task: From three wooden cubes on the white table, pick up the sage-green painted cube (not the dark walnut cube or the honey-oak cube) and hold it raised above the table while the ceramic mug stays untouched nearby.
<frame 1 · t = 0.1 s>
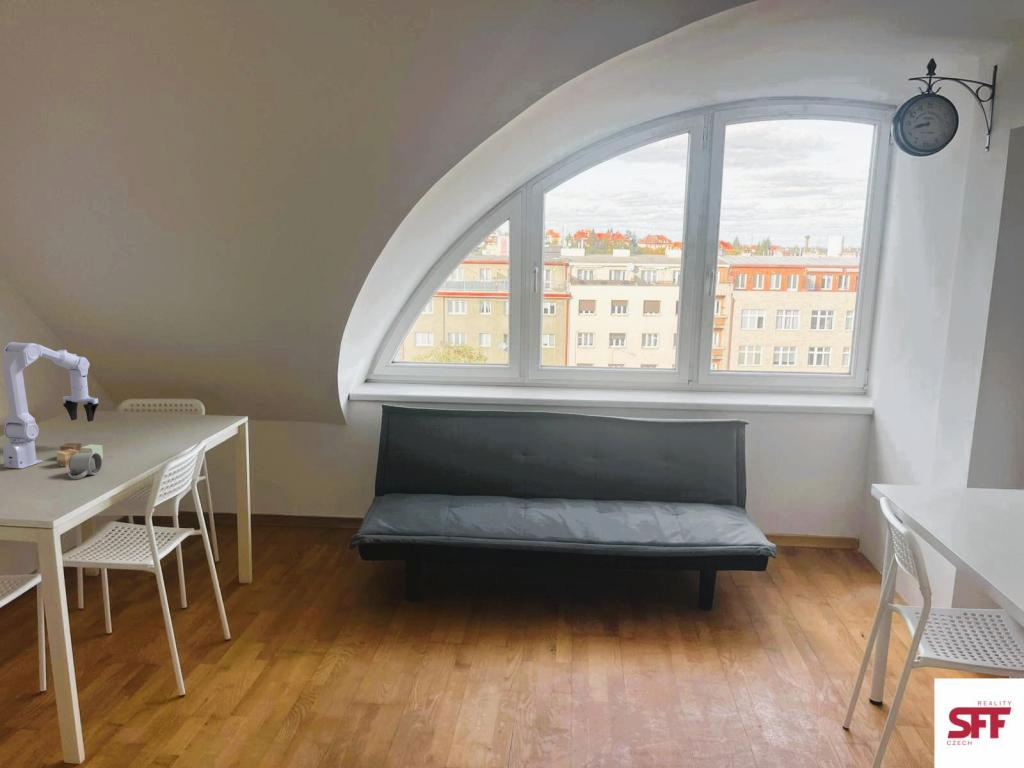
hand: (82, 420, 295), 10 cm above the table, tool pointing down, fingers open, 7 cm apart
ceramic mug: (84, 475, 259), on the table
oak block: (68, 464, 271), on the table
walnut block: (72, 457, 280), on the table
sage block: (92, 459, 278), on the table
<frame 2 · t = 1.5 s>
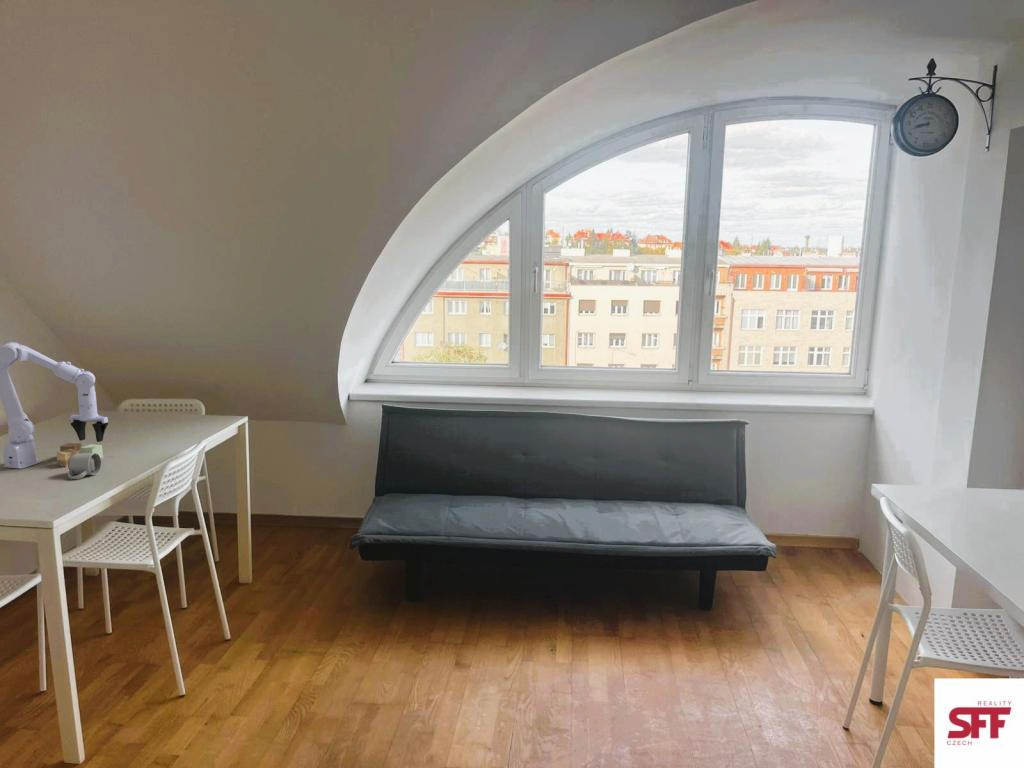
hand: (91, 440, 277), 7 cm above the table, tool pointing down, fingers open, 7 cm apart
nothing on the table moved.
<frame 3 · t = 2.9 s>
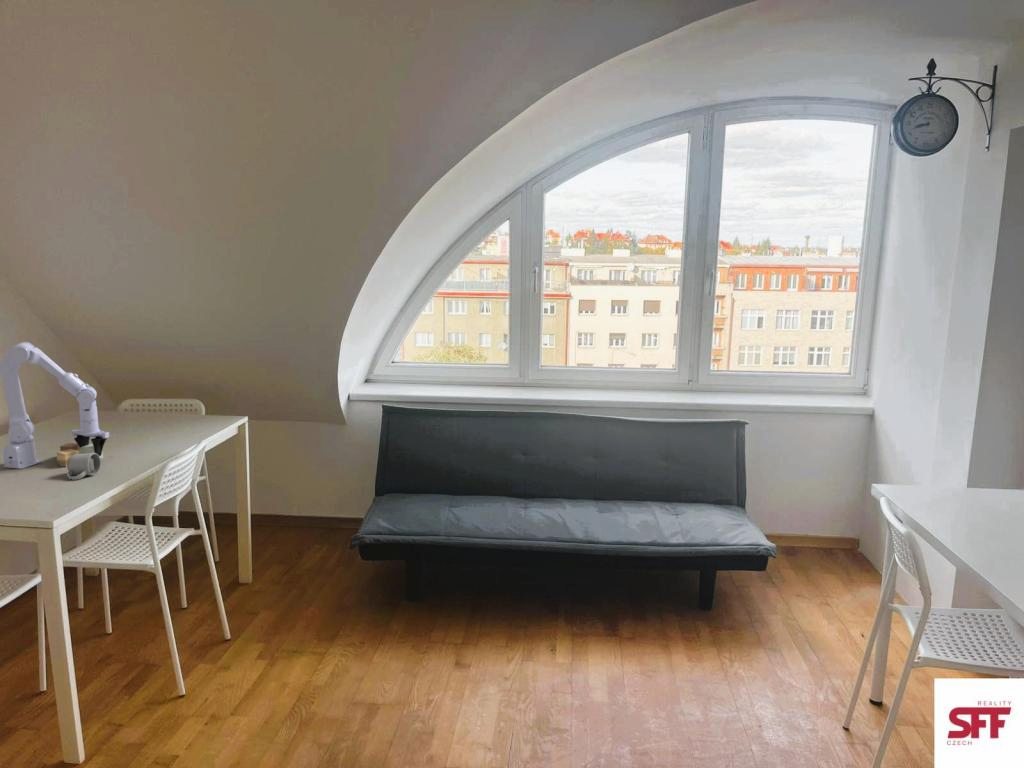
hand: (92, 455, 278), 1 cm above the table, tool pointing down, fingers closed on sage block, 5 cm apart
sage block: (92, 459, 278), on the table, touching gripper
everything else where it was.
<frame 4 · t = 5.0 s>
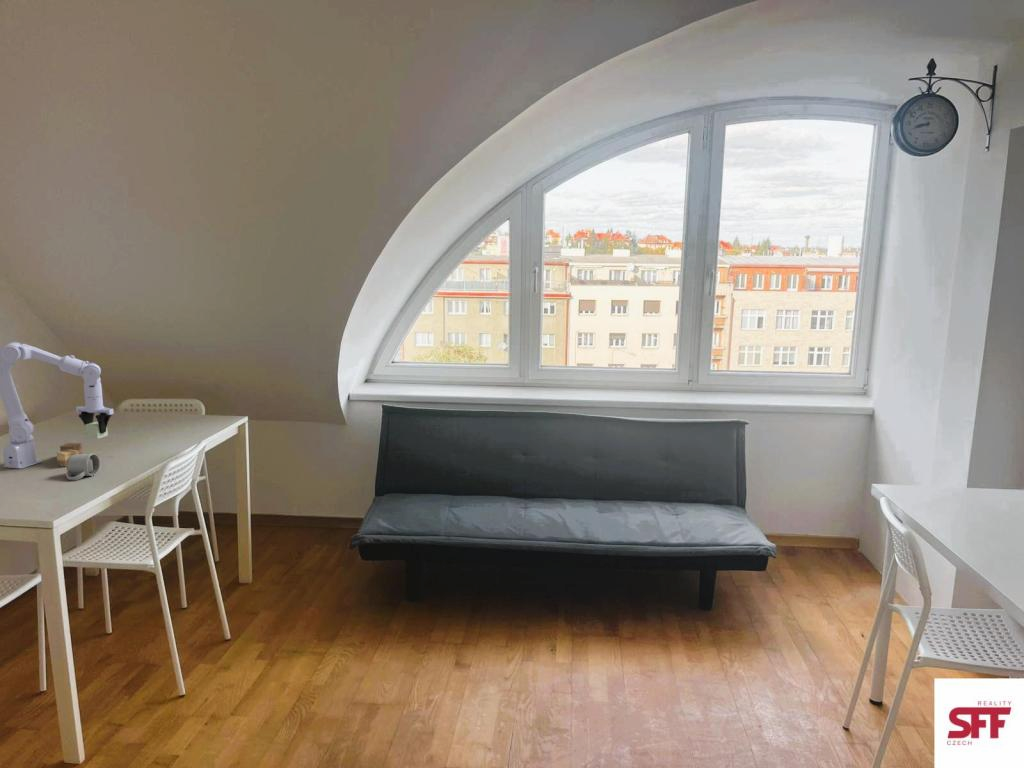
hand: (96, 432, 278), 10 cm above the table, tool pointing down, fingers closed on sage block, 5 cm apart
sage block: (97, 436, 278), point 8 cm above the table, touching gripper
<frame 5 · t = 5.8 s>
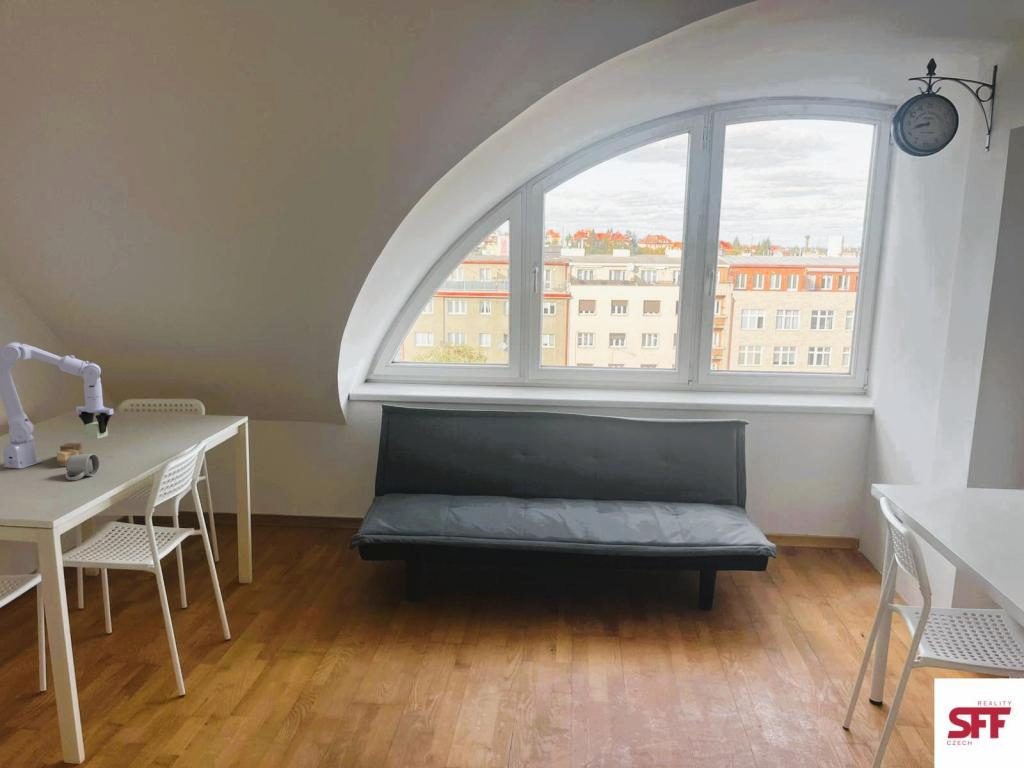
hand: (96, 432, 278), 10 cm above the table, tool pointing down, fingers closed on sage block, 5 cm apart
sage block: (97, 436, 278), point 8 cm above the table, touching gripper
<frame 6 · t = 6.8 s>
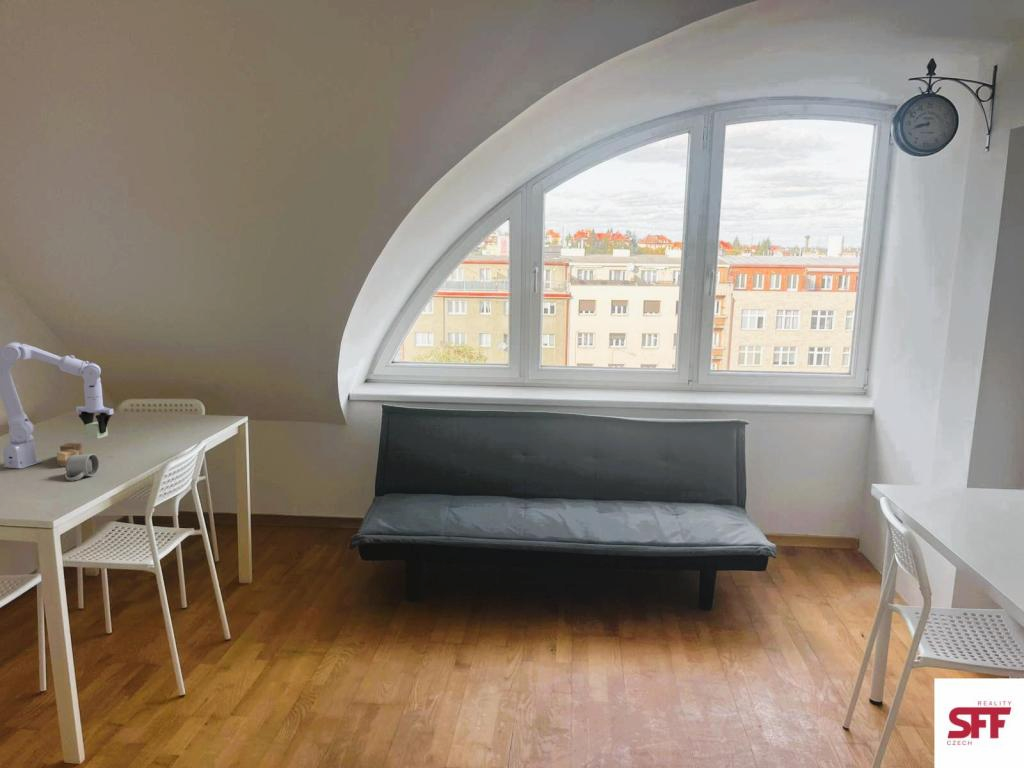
hand: (96, 432, 278), 10 cm above the table, tool pointing down, fingers closed on sage block, 5 cm apart
sage block: (97, 436, 278), point 8 cm above the table, touching gripper
at the end: the gripper is holding sage block; sage block point 8.2 cm above the table; walnut block moved 0.1 cm from its start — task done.
